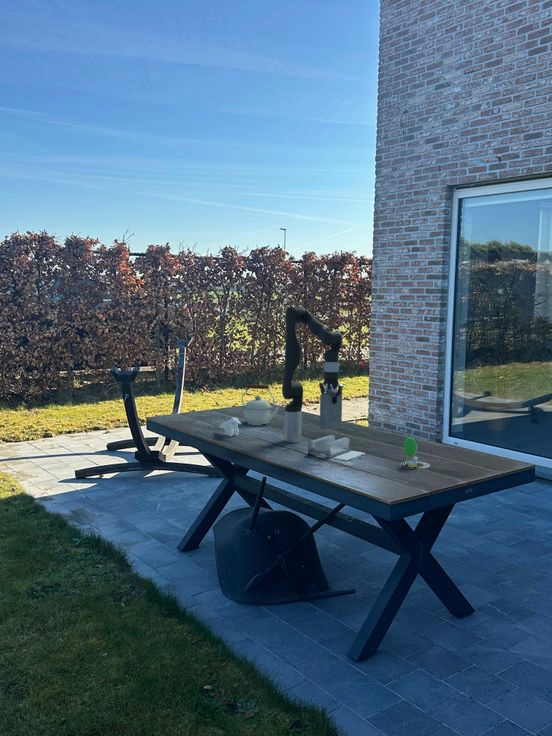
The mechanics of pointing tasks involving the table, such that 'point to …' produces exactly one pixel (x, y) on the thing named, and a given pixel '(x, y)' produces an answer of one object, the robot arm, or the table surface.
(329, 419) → the hip flask
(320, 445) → the vise
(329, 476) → the table surface
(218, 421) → the table surface
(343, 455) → the mat
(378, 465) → the table surface
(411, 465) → the train set
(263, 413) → the kettle
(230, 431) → the white dinosaur figurine
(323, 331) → the robot arm
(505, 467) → the table surface
